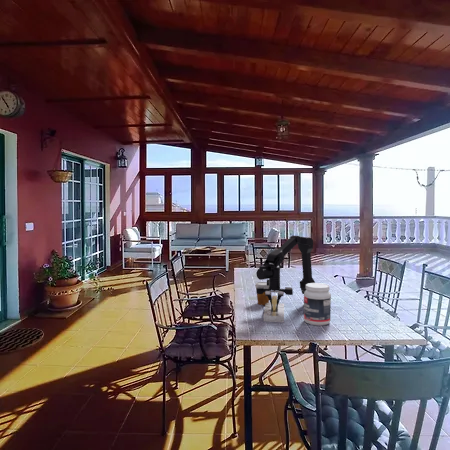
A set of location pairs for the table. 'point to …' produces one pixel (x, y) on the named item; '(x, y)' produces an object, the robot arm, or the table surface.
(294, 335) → the table surface
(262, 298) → the disposable coffee cup
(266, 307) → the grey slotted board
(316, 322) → the supplement tub
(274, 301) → the tan pronged block
